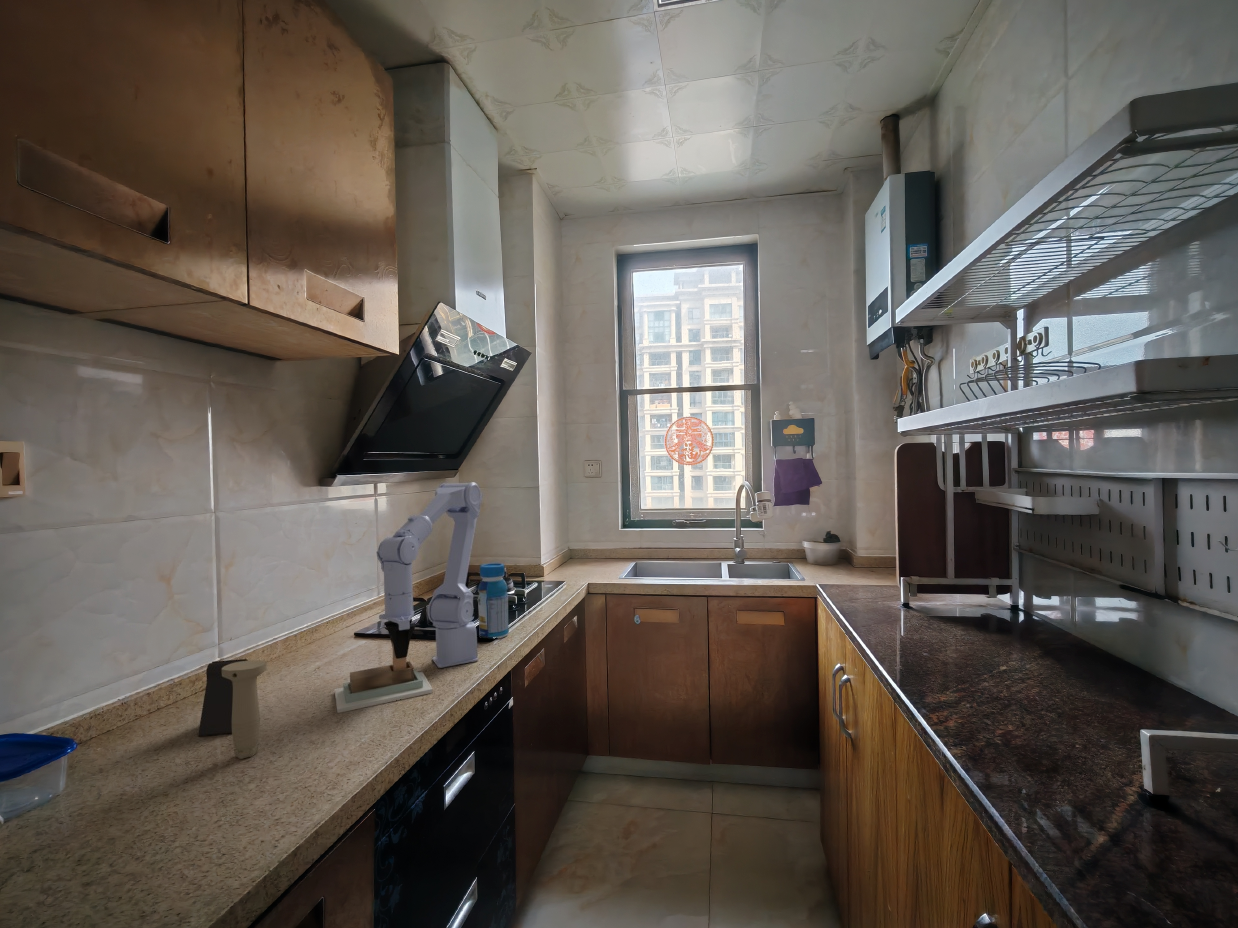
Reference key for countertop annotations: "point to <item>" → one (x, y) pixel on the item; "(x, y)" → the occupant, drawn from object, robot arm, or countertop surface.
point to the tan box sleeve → (380, 677)
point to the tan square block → (398, 662)
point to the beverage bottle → (493, 601)
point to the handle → (245, 705)
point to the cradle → (381, 693)
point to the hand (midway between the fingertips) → (400, 655)
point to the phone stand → (217, 701)
